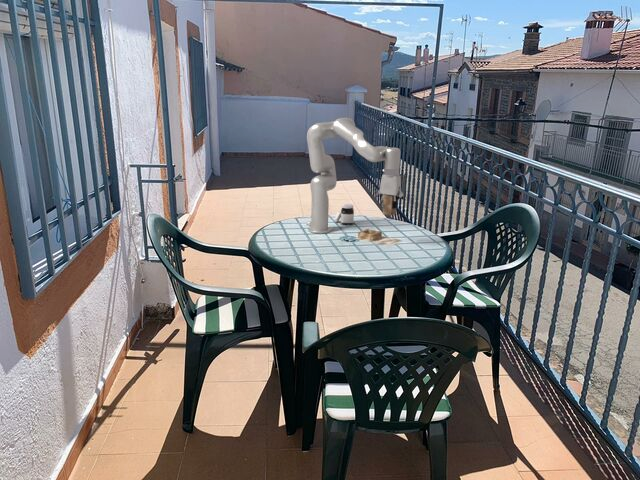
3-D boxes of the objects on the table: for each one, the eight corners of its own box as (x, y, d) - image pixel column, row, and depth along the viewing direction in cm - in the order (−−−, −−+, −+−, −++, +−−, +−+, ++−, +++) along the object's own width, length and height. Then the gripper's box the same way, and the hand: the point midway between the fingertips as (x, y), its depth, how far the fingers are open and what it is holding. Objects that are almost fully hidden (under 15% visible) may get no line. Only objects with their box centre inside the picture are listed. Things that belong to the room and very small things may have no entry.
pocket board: (353, 239, 270) (354, 232, 269) (368, 234, 281) (368, 227, 280) (389, 247, 257) (390, 240, 256) (403, 242, 268) (403, 235, 267)
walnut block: (382, 214, 261) (383, 195, 259) (387, 212, 265) (388, 193, 262) (390, 215, 258) (392, 196, 256) (395, 213, 262) (397, 194, 259)
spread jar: (354, 226, 299) (355, 206, 296) (335, 225, 299) (335, 206, 296) (352, 221, 311) (352, 202, 308) (333, 221, 310) (334, 202, 307)
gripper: (373, 171, 258) (371, 206, 263) (402, 175, 248) (400, 211, 253) (381, 169, 264) (379, 204, 269) (410, 173, 254) (407, 208, 259)
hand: (389, 207), depth 261 cm, fingers closed on walnut block, 5 cm apart
